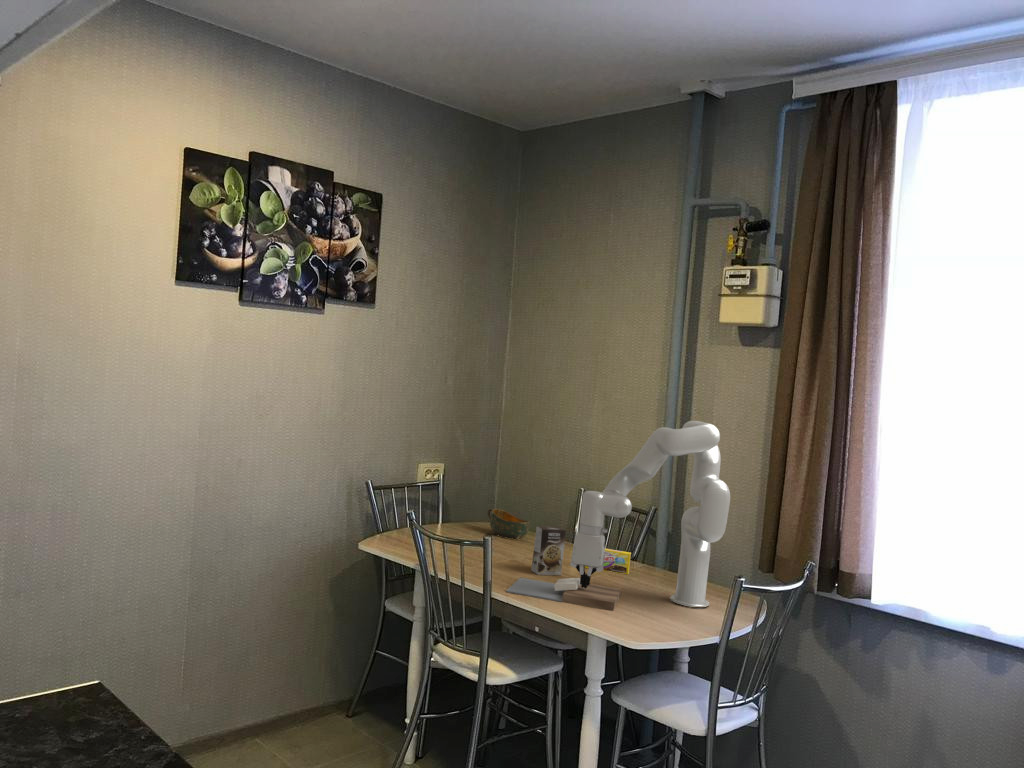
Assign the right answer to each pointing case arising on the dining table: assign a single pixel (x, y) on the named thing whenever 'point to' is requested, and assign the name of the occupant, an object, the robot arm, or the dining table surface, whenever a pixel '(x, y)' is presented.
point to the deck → (593, 596)
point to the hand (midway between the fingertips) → (584, 586)
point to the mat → (536, 589)
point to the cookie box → (548, 550)
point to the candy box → (616, 561)
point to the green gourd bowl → (507, 524)
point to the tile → (567, 584)
